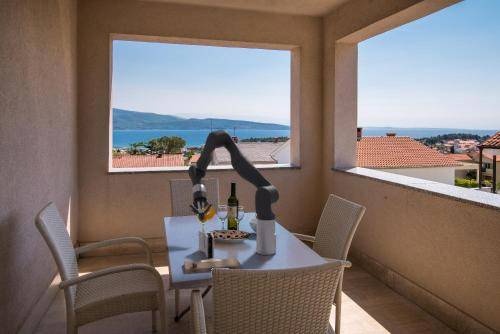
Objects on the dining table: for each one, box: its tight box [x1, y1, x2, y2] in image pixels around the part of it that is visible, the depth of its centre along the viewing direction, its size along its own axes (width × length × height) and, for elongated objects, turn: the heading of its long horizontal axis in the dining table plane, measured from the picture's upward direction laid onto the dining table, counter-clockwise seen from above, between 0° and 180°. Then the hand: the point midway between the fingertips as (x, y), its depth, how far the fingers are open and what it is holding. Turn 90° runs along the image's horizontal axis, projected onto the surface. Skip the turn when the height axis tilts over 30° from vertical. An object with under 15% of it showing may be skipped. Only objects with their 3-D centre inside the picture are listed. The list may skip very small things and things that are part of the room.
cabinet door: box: [183, 257, 242, 274], centre depth 166 cm, size 24×10×3 cm, turn 104°
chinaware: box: [249, 217, 257, 235], centre depth 223 cm, size 15×15×8 cm
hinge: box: [198, 230, 216, 259], centre depth 184 cm, size 14×5×10 cm, turn 26°
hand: (202, 219), depth 202 cm, fingers closed
